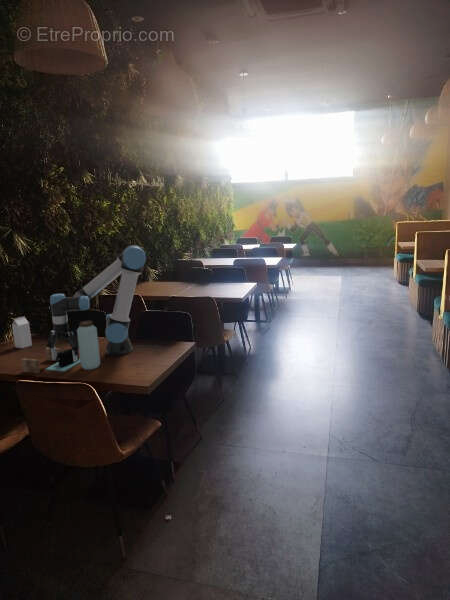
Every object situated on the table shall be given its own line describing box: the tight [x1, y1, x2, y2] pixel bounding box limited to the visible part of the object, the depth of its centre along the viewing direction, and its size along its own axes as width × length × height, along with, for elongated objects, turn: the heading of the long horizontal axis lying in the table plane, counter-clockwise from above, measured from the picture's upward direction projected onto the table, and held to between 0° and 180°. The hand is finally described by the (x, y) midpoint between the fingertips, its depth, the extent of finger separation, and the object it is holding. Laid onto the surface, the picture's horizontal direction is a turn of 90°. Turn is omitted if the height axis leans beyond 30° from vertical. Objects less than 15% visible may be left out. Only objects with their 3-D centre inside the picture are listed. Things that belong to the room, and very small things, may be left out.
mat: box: [45, 357, 81, 373], centre depth 227 cm, size 12×18×1 cm, turn 163°
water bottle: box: [76, 320, 101, 371], centre depth 220 cm, size 10×10×25 cm
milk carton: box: [11, 315, 33, 349], centre depth 261 cm, size 7×7×19 cm
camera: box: [56, 347, 80, 368], centre depth 227 cm, size 14×7×8 cm, turn 155°
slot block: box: [21, 347, 62, 374], centre depth 226 cm, size 9×20×7 cm, turn 164°
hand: (65, 360), depth 227 cm, fingers open, 13 cm apart
